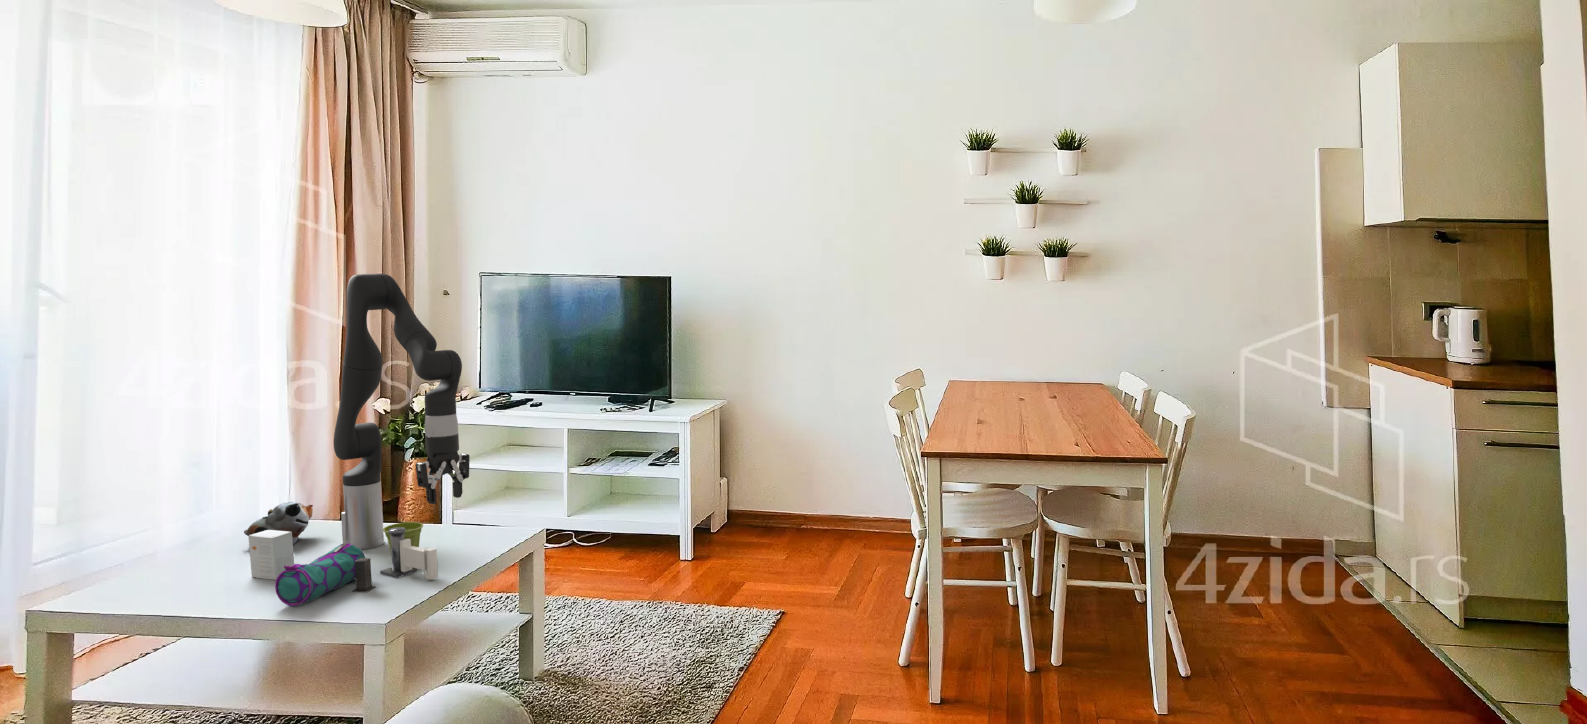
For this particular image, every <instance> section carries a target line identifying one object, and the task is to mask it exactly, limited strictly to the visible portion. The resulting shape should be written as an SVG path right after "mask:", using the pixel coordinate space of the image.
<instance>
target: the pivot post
mask: <svg viewBox="0 0 1587 724" xmlns="http://www.w3.org/2000/svg"><path fill="white" fill-rule="evenodd" d="M404 532H405V528H404V527H396V528H391V529H389V530H388V534H390V538H391V552H390V557H391V567H388V568H385V569H382V570H380V571H379V572H380V573H379V574H380V575H383V576H387V577H391V578H394V579H395V578H396V577H397V578H400V577H402V576H403V577H404V576H406V575H410V574H412V572H413V573H416V572H418V571H419V569H417V568H413V567H412V570H409V571H406V572H402V571H401V560H400V541H401V540H404ZM397 578H396V579H397Z"/></svg>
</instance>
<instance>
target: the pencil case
mask: <svg viewBox="0 0 1587 724" xmlns="http://www.w3.org/2000/svg"><path fill="white" fill-rule="evenodd" d="M360 558H366V555H365V552H363V549H359V548H357V547H356V546H354V545H351V544H350V543H348V544H346V543H345V542H344V543H343V542H342V543H341V544H339V545H338V546H335V547H334V548H332V549H331V550H330V551H328V552H326V553H325V554H323V555H321V556H318V558H315V559H314V560H313V561H311V562H310V563H308V564H307V563H306V564H300V563H294V565H293V566H286V565H284V568H285V570H284V571H282V572H281V573H280V574H279V575H278V577H277V579H276V580H275V583H274V588H275V593H276V595H277V596H276V597H277V598H278V599H279V600H280V601H281V602H282V603H283V604H284V605H287V606H289V607H293V608H294V607H299V606H302V605H303V604H306V603H308V602H311V601H312V600H316V599H317V598H319V597H320V596H321V597H322V596H323V595H324V594H327V593H329V592H330V591H333V590H335V589H338V588H341V587H342V586H344V585H347V584H348V583H350V582H352V581H354V580H356V577H355V561H356V560H358V559H360Z"/></svg>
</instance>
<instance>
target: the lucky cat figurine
mask: <svg viewBox="0 0 1587 724" xmlns="http://www.w3.org/2000/svg"><path fill="white" fill-rule="evenodd" d="M313 506H314V504H308V505H304V504H303V503H301V502H297V501H288V502H283V503H280V504H277V505H276V506H275V507H274V508H271V509H269V510H268V511H267V515H266V516H263V517H261V518H260V519H257V520H255V521H254V522H253V523H251V524H250V525H249V527H248V528H247V529H245V530H244V531H243V534H244V535H246V536H248V537H249V535H252V534H255V533H259V532H262V531H265V530H276V531H288V532H292V541H293V545H295V544H296V542H297V541H298V539H299V536H300V535H301V534H302V533H303V532H304V531H305V530H306V528H307V527H308V525H309V521H310V520H311V519H312V517H313V512H314V511H313Z"/></svg>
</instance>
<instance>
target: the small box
mask: <svg viewBox="0 0 1587 724" xmlns="http://www.w3.org/2000/svg"><path fill="white" fill-rule="evenodd" d="M248 546H249V547H248V549H249V559H250V561H249V562H250V570H251V572H250V573H251V578H254V577H256V578H257V579H265V580H275V581H276V579H277V577H278V575H279V574H280V573H281V572H282V571H284V570H285V568H284V565H286V566H293V565H294V564H295V555H294V544H293V541H292V532H288V531H276V530H265V531H262V532H259V533H255V534H252V535H249V536H248ZM256 578H255V579H256Z"/></svg>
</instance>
